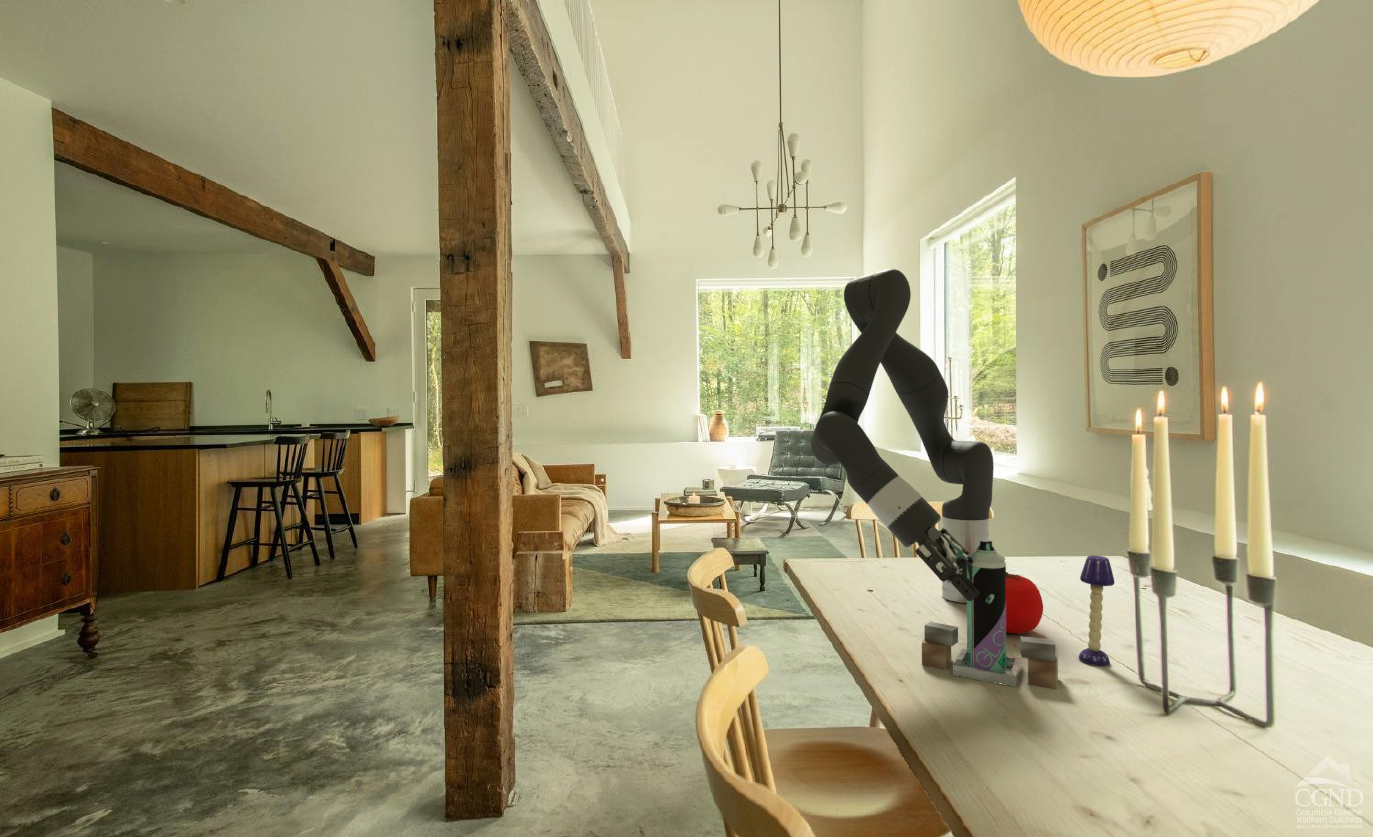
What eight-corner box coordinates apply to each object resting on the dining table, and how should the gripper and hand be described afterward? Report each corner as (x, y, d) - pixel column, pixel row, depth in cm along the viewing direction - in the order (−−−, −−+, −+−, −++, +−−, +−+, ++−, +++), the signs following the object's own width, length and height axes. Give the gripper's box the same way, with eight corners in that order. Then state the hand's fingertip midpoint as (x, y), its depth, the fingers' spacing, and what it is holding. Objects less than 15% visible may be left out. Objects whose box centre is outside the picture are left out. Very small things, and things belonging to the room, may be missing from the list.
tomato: (1051, 629, 124) (1051, 572, 124) (1031, 646, 116) (1031, 584, 116) (984, 616, 133) (983, 562, 132) (960, 631, 124) (960, 573, 124)
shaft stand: (921, 664, 108) (921, 627, 108) (928, 656, 112) (927, 620, 112) (1055, 689, 98) (1055, 648, 98) (1057, 678, 102) (1057, 639, 102)
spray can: (989, 680, 101) (989, 545, 101) (959, 668, 106) (958, 539, 106) (1014, 673, 104) (1013, 542, 104) (983, 662, 109) (983, 536, 108)
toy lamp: (1110, 658, 110) (1110, 554, 110) (1117, 669, 105) (1117, 560, 105) (1076, 655, 111) (1076, 552, 111) (1082, 665, 107) (1082, 558, 107)
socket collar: (952, 675, 103) (952, 665, 103) (963, 657, 111) (963, 648, 111) (1015, 687, 99) (1015, 676, 99) (1022, 667, 106) (1022, 658, 106)
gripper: (909, 500, 104) (992, 586, 98) (929, 491, 116) (1004, 566, 110) (874, 533, 106) (953, 617, 101) (897, 520, 119) (968, 595, 113)
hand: (979, 590), depth 105 cm, fingers open, 8 cm apart
